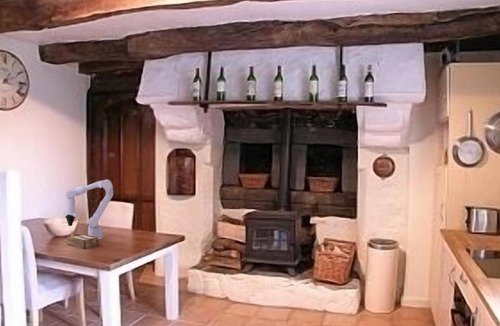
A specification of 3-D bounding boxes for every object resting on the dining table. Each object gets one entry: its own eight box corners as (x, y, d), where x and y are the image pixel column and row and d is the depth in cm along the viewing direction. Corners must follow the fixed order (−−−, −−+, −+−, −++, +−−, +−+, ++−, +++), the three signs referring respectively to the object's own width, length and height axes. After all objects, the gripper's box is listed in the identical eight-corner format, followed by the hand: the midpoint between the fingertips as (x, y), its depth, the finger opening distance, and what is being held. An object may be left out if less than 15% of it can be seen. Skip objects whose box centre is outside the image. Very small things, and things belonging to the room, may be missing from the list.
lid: (81, 235, 329) (81, 232, 328) (95, 238, 319) (95, 235, 319) (69, 238, 321) (69, 234, 321) (83, 241, 312) (83, 237, 312)
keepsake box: (81, 241, 330) (81, 233, 330) (98, 245, 320) (97, 237, 319) (67, 244, 321) (67, 236, 321) (83, 248, 311) (83, 240, 310)
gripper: (59, 206, 334) (59, 225, 335) (71, 208, 325) (71, 227, 326) (68, 205, 340) (68, 223, 340) (80, 207, 331) (80, 226, 332)
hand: (70, 225), depth 334 cm, fingers closed
